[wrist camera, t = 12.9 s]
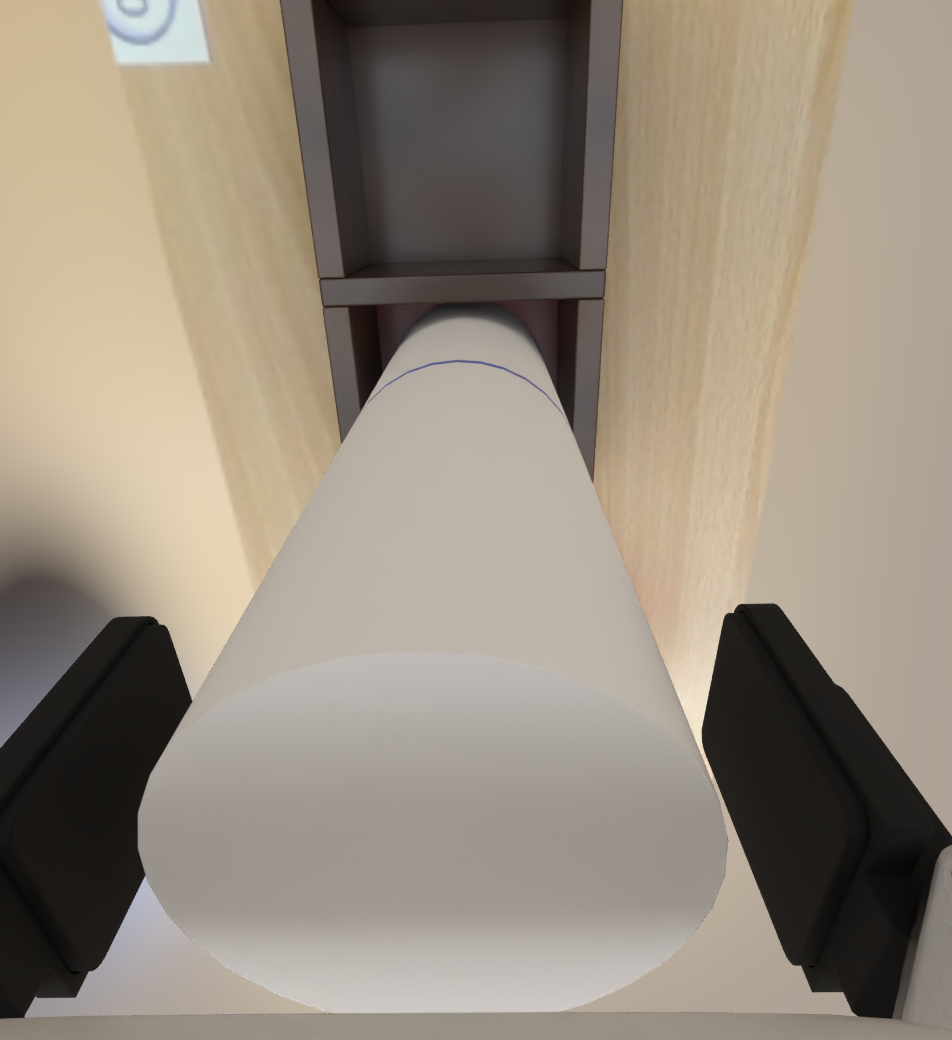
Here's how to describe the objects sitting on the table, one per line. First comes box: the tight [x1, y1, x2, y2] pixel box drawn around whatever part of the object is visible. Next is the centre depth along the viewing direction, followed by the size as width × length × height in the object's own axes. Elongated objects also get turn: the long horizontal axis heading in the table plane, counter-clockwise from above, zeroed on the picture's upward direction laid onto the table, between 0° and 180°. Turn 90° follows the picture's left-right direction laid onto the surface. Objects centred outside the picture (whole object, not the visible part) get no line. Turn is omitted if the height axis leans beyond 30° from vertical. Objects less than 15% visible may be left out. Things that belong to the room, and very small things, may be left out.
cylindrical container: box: [138, 302, 728, 1013], centre depth 19 cm, size 7×7×25 cm
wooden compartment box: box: [280, 0, 623, 483], centre depth 26 cm, size 20×10×7 cm, turn 2°
